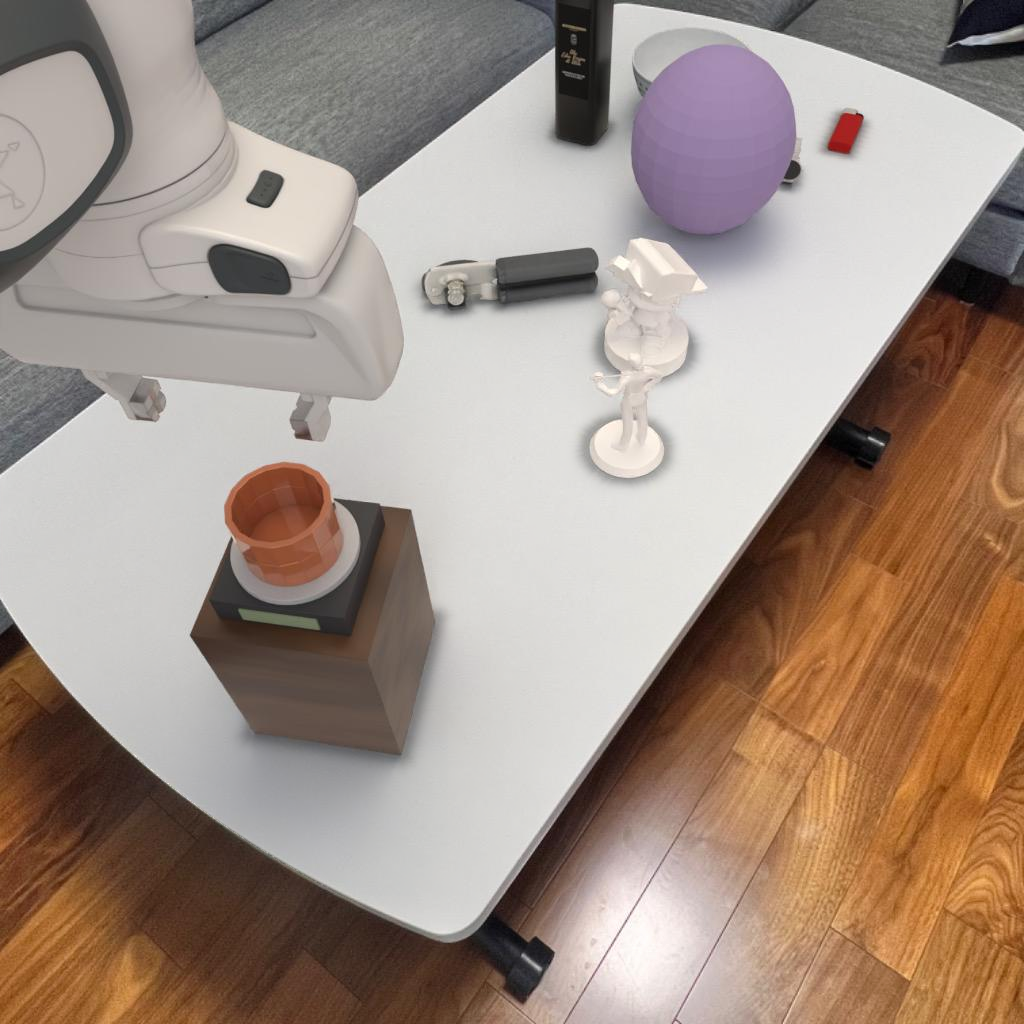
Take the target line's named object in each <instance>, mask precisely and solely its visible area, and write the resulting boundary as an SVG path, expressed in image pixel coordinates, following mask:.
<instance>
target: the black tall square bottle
mask: <svg viewBox="0 0 1024 1024" xmlns="http://www.w3.org/2000/svg"><path fill="white" fill-rule="evenodd" d="M614 11H615V0H554V95H555V96H554V132H555V135H556V137H557V138H559V139H562V140H566V141H570V142H574V143H577V144H581V145H585V146H586V145H587V146H590V145H594V144H595V143H597V141H598V140H599V139H600V138H601V136H602V135H603V134H604V132H605V131H606V130H607V128H608V127H609V118H610V99H611V98H610V97H611V96H610V95H611V77H612V76H611V75H612V54H613V35H614V34H613V32H614Z"/></svg>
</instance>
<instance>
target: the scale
mask: <svg viewBox="0 0 1024 1024" xmlns="http://www.w3.org/2000/svg"><path fill="white" fill-rule="evenodd" d="M333 499H334V502H335V505H336V508H337V511H338V514H339V517H340V520H341V525H342V529H343V534H344V543H343V548H342V551H341V553H340V556H339V558H338V559H337V561H336V562H335V564H334V565H333V566H332V567H331V568H330V569H329V570H328V571H327V572H326V573H324V574H323V575H322V576H320V577H319V578H317V579H315V580H313V581H311V582H308V583H306V584H302V585H298V586H292V587H281V586H274V585H271V584H268V583H265V582H263V581H261V580H260V579H258V578H257V577H255V576H254V575H253V574H252V573H251V571H250V570H249V568H248V567H247V565H246V563H245V561H244V560H243V558H242V556H241V554H240V552H239V550H238V548H237V546H236V544H235V542H234V540H233V542H232V544H231V547H230V549H229V552H228V554H227V556H226V559H225V561H224V563H223V566H222V568H221V571H220V573H219V575H218V578H217V580H216V583H215V585H214V587H213V590H212V592H211V595H210V597H209V602H210V603H211V605H212V607H213V608H214V610H215V612H216V613H217V615H218V617H219V618H222V619H229V620H237V621H244V622H251V623H258V624H265V625H273V626H280V627H287V628H294V629H301V630H308V631H316V632H323V633H330V634H337V635H344V636H351V634H352V630H353V627H354V624H355V621H356V617H357V614H358V611H359V608H360V604H361V601H362V598H363V595H364V591H365V588H366V585H367V582H368V578H369V575H370V572H371V569H372V565H373V562H374V559H375V556H376V552H377V549H378V546H379V543H380V539H381V536H382V533H383V530H384V526H385V521H384V517H383V513H382V509H381V506H382V505H381V503H378V502H370V501H363V500H362V501H361V500H354V499H353V500H352V499H343V498H336V497H333Z"/></svg>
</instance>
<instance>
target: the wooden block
mask: <svg viewBox="0 0 1024 1024" xmlns="http://www.w3.org/2000/svg"><path fill="white" fill-rule="evenodd" d="M381 509H382V513H383V517H384V521H385V526H384V530H383V533H382V536H381V539H380V543H379V546H378V549H377V552H376V556H375V559H374V562H373V565H372V569H371V572H370V575H369V578H368V582H367V585H366V588H365V591H364V595H363V598H362V601H361V604H360V608H359V611H358V614H357V617H356V621H355V624H354V627H353V630H352V634H351V636H344V635H337V634H330V633H323V632H316V631H308V630H301V629H294V628H287V627H280V626H273V625H265V624H258V623H251V622H244V621H237V620H229V619H222V618H219V617H218V615H217V613H216V612H215V610H214V608H213V607H212V605H211V603H210V602H209V597H210V595H211V592H212V590H213V587H214V585H215V583H216V580H217V578H218V575H219V573H220V571H221V568H222V566H223V563H224V561H225V559H226V556H227V554H228V552H229V549H230V547H231V544H232V542H233V538H232V536H231V535H230V538H229V541H228V543H227V545H226V548H225V549H224V552H223V554H222V557H221V559H220V562H219V564H218V567H217V568H216V571H215V574H214V576H213V578H212V580H211V583H210V586H209V588H208V589H207V592H206V595H205V598H204V600H203V602H202V605H201V607H200V609H199V612H198V614H197V617H196V619H195V621H194V624H193V626H192V628H191V631H190V633H189V637H190V638H191V640H192V641H193V643H194V645H195V646H196V647H197V649H198V651H199V653H200V654H201V655H202V656H203V658H204V659H205V661H206V663H207V664H208V665H209V667H210V668H211V670H212V672H213V673H214V675H215V676H216V678H217V679H218V681H219V682H220V683H221V685H222V687H223V688H224V689H225V691H226V692H227V694H228V696H229V697H230V699H231V700H232V702H233V703H234V705H235V707H236V708H237V709H238V711H239V712H240V714H241V715H242V717H243V718H244V720H245V721H246V723H247V724H248V726H249V728H250V729H251V730H252V732H253V733H254V734H260V735H261V734H262V735H267V736H273V737H281V738H285V739H292V740H300V741H306V742H312V743H317V744H325V745H330V746H331V745H332V746H339V747H343V748H351V749H357V750H363V751H370V752H377V753H382V754H389V755H396V756H402V754H403V750H404V746H405V743H406V738H407V735H408V730H409V728H410V727H409V726H410V723H411V718H412V716H413V715H412V714H413V710H414V707H415V703H416V698H417V695H418V691H419V687H420V682H421V679H422V675H423V670H424V667H425V663H426V659H427V655H428V650H429V648H430V643H431V639H432V635H433V631H434V627H435V622H436V619H435V614H434V609H433V603H432V600H431V595H430V590H429V586H428V581H427V576H426V572H425V567H424V562H423V558H422V557H423V556H422V553H421V548H420V543H419V540H418V539H419V538H418V534H417V530H416V529H417V528H416V525H415V520H414V516H413V511H412V508H404V507H403V508H402V507H395V506H388V505H387V506H386V505H381Z"/></svg>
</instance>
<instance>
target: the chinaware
mask: <svg viewBox="0 0 1024 1024" xmlns="http://www.w3.org/2000/svg"><path fill="white" fill-rule="evenodd" d="M715 44H726V45H734V46H739V47H742V48H745V49H748V50H750V51H752V52H753V50H752V49H751V48H750V46H749V45H748V44H747V43H746V42H744V41H743V40H741V39H740V38H738V37H737V36H734V35H732V34H730V33H728V32H725V31H721V30H718V29H713V28H707V27H695V26H694V27H692V26H690V27H689V26H688V27H676V28H670V29H665V30H662V31H658V32H656V33H653V34H651V35H649V36H647V37H645V38H644V39H643V40H641V41H640V42H639V43H638V44H637V45H636V46H635V47H634V49H633V52H632V55H631V64H632V73H633V77H634V81H635V84H636V87H637V90H638V91H639V94H640V95H641V97H642V98H643V97H644V95H645V93H646V92H647V90H648V88H649V87H650V85H651V84H652V82H653V81H654V79H655V78H656V77H657V76H658V75H659V74H660V73H661V72H662V70H663V69H665V68H666V67H667V66H668V65H670V64H671V63H672V62H674V61H675V60H676V59H678V58H679V57H681V56H682V55H684V54H686V53H688V52H690V51H692V50H695V49H698V48H700V47H703V46H708V45H715Z"/></svg>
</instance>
